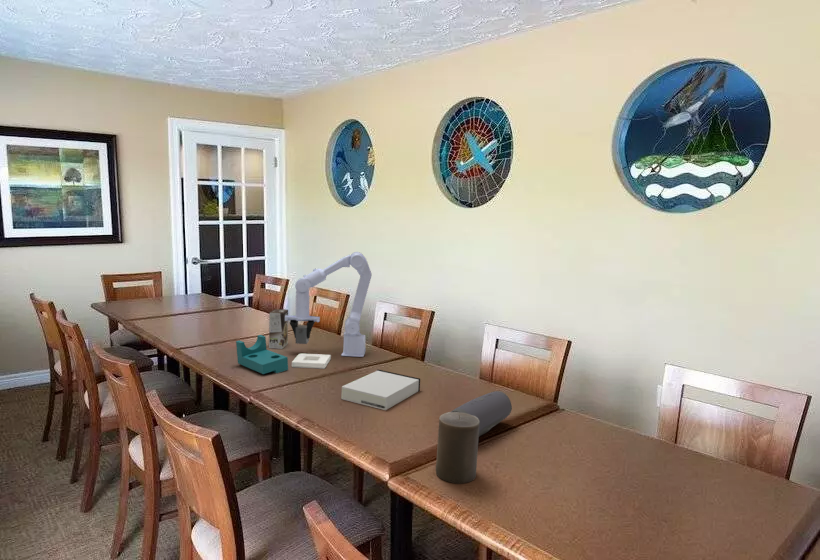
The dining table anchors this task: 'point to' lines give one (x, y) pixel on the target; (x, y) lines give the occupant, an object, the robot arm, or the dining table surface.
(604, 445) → the dining table surface
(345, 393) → the disc drive
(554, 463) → the dining table surface
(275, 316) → the coffee box
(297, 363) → the socket
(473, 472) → the pillar candle
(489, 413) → the bluetooth speaker
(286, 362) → the teal l-shaped bracket
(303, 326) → the plug
